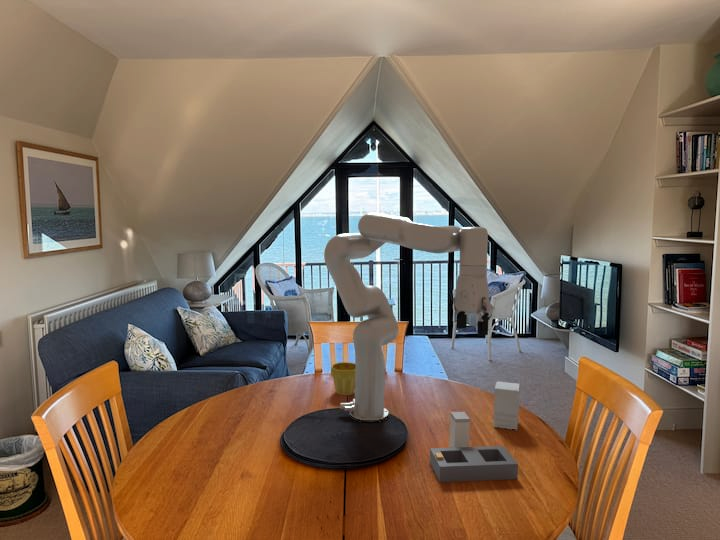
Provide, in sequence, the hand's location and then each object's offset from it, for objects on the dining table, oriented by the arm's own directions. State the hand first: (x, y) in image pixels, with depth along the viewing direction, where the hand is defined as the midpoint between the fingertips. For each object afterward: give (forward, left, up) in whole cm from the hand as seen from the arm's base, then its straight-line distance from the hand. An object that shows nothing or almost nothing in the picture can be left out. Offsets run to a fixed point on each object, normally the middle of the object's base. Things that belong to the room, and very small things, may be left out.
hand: (471, 331), depth 149 cm
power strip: (-4, -16, -33) cm, 37 cm away
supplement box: (+16, +12, -33) cm, 38 cm away
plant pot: (-32, +44, -33) cm, 63 cm away
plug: (-4, -4, -33) cm, 33 cm away
